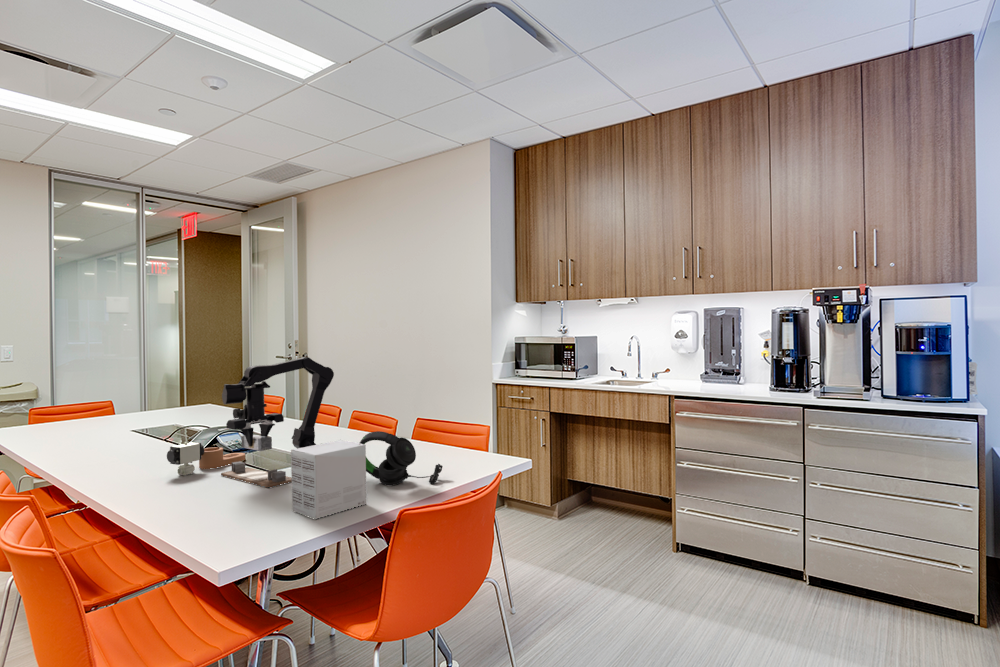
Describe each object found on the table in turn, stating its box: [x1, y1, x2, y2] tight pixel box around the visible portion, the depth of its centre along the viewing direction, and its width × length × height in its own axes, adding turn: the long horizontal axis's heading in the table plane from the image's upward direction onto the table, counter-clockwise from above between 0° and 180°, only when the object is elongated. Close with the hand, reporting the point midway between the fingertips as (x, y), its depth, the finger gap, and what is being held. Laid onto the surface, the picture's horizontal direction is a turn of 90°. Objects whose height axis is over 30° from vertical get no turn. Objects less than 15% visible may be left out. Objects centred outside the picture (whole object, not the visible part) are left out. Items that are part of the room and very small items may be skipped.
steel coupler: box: [240, 433, 273, 452], centre depth 193 cm, size 12×4×4 cm, turn 56°
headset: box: [359, 430, 443, 486], centre depth 185 cm, size 18×14×29 cm
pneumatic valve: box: [166, 441, 205, 476], centre depth 200 cm, size 6×12×12 cm, turn 155°
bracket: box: [198, 446, 246, 470], centre depth 216 cm, size 18×8×7 cm, turn 152°
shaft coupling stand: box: [220, 461, 292, 488], centre depth 193 cm, size 30×10×4 cm, turn 55°
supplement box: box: [290, 439, 367, 520], centre depth 159 cm, size 17×13×18 cm
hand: (256, 445), depth 193 cm, fingers closed on steel coupler, 4 cm apart
